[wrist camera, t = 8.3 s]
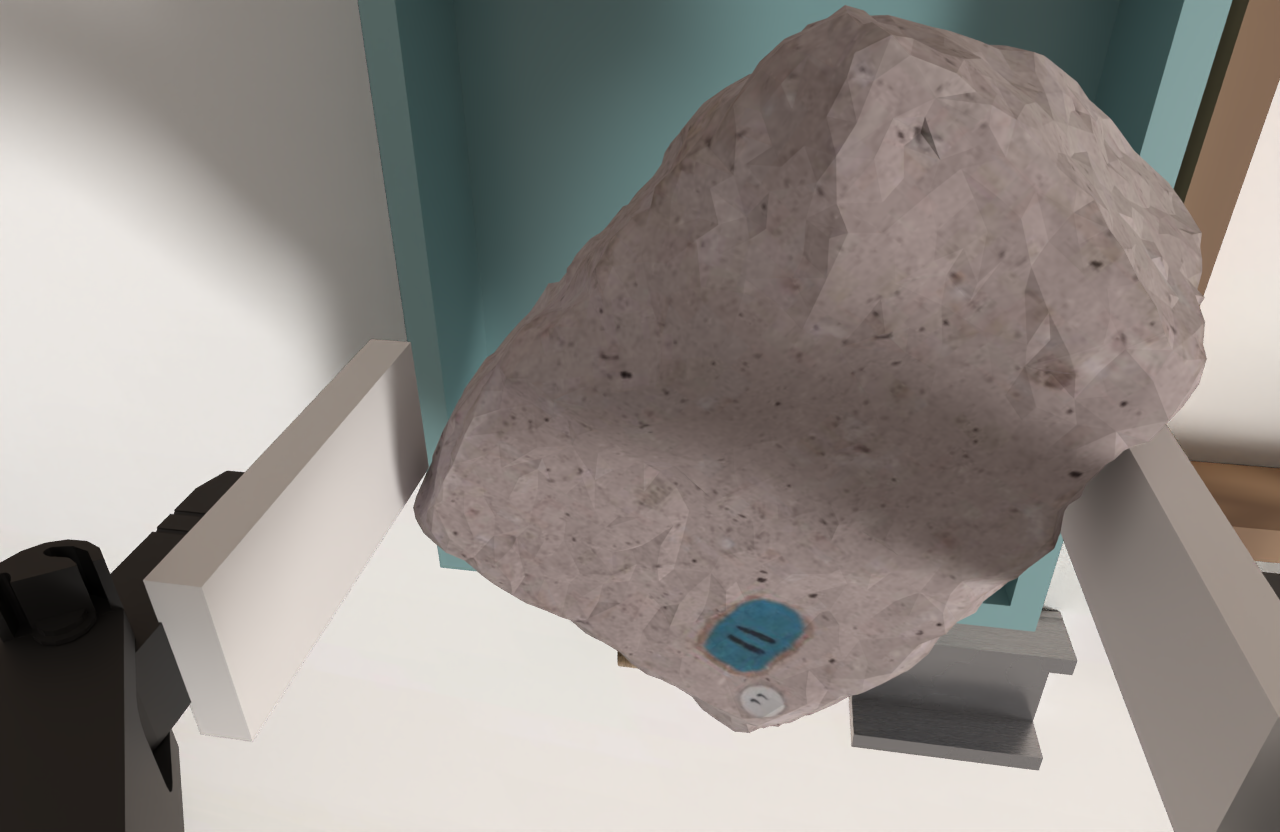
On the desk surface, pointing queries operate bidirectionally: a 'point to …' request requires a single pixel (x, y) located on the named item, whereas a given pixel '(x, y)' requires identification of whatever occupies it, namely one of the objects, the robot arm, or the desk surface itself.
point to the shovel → (966, 696)
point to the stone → (828, 369)
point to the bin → (664, 139)
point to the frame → (1209, 188)
